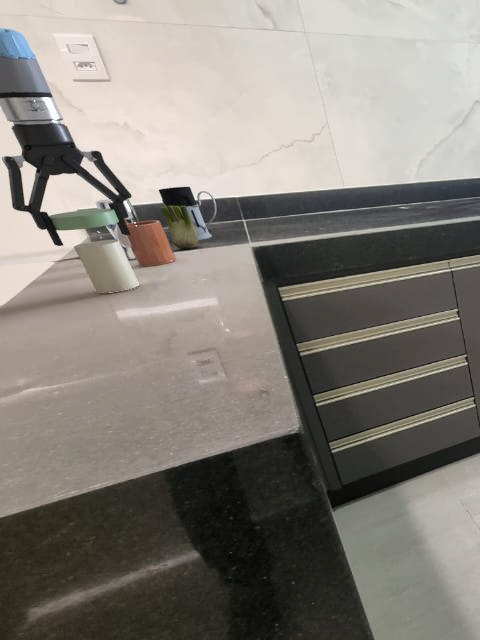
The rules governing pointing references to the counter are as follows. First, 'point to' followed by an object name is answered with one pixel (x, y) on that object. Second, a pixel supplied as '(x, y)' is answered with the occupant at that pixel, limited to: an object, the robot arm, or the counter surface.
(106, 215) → the lid
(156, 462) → the counter surface
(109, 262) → the can
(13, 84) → the robot arm
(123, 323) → the counter surface
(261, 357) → the counter surface
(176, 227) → the fennel bulb
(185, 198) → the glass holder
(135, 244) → the cup
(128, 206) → the beer glass
